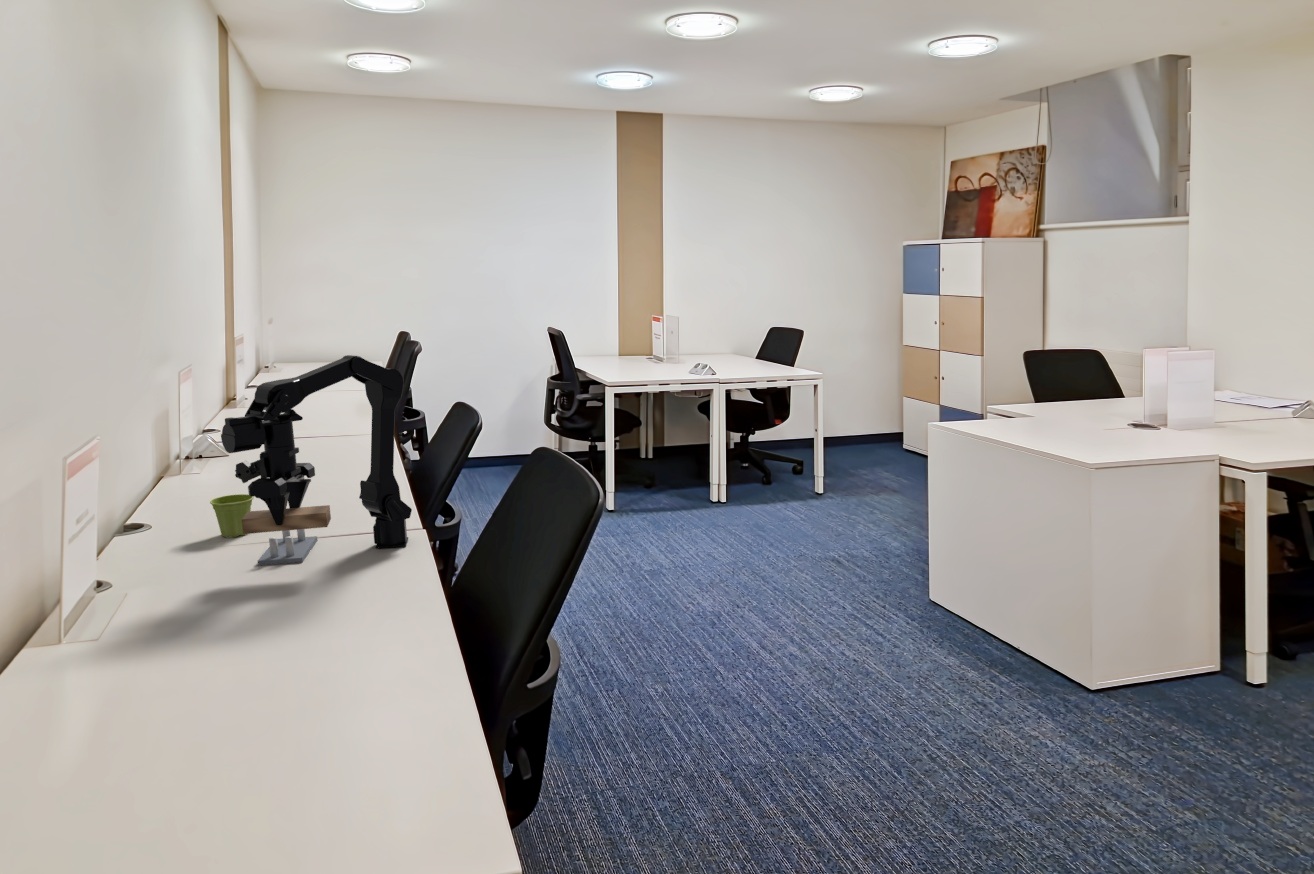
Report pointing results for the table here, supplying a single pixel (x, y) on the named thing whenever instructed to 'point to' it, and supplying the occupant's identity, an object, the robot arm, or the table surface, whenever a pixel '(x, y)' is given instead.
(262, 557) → the peg stand
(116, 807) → the table surface
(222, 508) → the plant pot
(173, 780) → the table surface
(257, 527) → the shelf board
